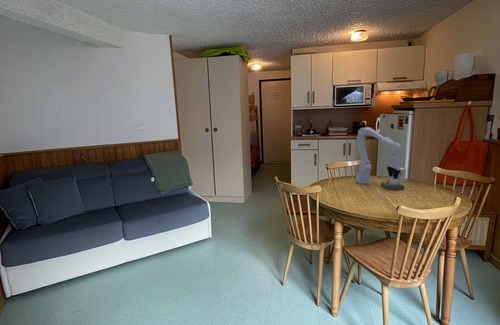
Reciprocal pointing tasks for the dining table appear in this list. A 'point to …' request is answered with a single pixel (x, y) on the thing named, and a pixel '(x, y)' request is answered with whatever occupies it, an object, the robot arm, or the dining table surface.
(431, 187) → the dining table surface
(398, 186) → the socket
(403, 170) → the light bulb box
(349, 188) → the dining table surface
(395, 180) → the plug
